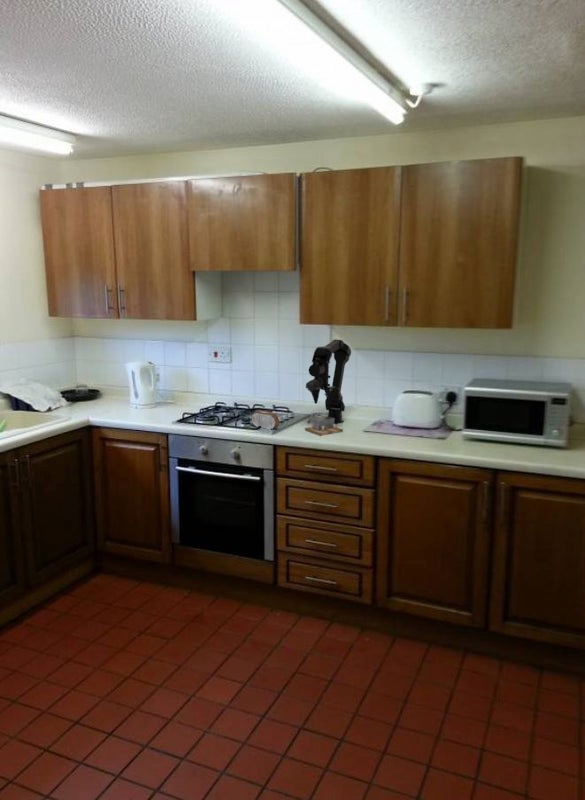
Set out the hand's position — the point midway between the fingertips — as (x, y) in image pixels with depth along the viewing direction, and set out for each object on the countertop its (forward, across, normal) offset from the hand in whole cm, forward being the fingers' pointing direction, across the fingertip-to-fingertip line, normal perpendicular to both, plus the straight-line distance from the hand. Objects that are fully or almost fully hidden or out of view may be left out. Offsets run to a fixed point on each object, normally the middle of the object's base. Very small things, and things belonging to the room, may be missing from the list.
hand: (321, 405), depth 311 cm
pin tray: (+12, +4, -2) cm, 13 cm away
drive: (+11, +4, -2) cm, 11 cm away
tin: (+12, -17, -22) cm, 30 cm away
